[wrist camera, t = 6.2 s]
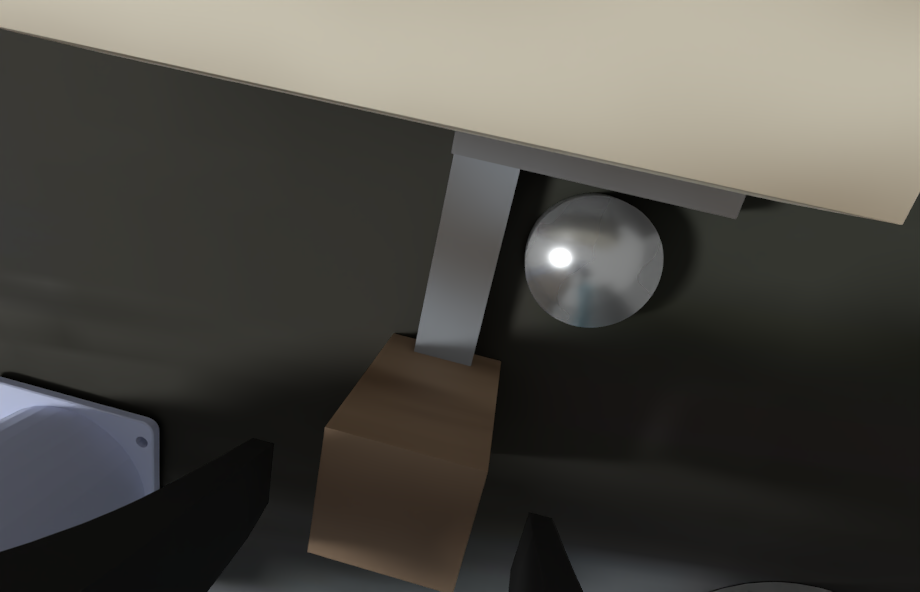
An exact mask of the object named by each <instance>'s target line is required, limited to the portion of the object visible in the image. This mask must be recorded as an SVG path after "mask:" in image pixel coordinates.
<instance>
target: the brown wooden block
mask: <svg viewBox="0 0 920 592" xmlns="http://www.w3.org/2000/svg"><path fill="white" fill-rule="evenodd" d="M451 153H452V154H454V156H453V161H452V166H451V171H450V176H449V181H448V186H447V191H446V196H445V201H444V206H443V211H442V215H441V220H440V225H439V230H438V235H437V240H436V245H435V250H434V255H433V260H432V265H431V270H430V275H429V280H428V284H427V289H426V294H425V299H424V304H423V309H422V314H421V319H420V324H419V329H418V334H417V339H414V338H410V337H406V336H402V335H398V334H393V335H392V336H391V338H390V339H389V341H388V342H387V343H386V345H385V346H384V347H383V349H382V350H381V351H380V353H379V354H378V355H377V357H376V358H375V360H374V361H373V362H372V364H371V365H370V366H369V368H368V369H367V370H366V372H365V373H364V375H363V376H362V377H361V379H360V380H359V381H358V383H357V384H356V385H355V387H354V388H353V389H352V391H351V392H350V394H349V395H348V396H347V398H346V399H345V400H344V402H343V403H342V404H341V406H340V407H339V409H338V410H337V411H336V413H335V414H334V415H333V417H332V418H331V419H330V421H329V422H328V424H327V425H326V426H325V430H324V438H323V445H322V452H321V459H320V466H319V473H318V480H317V487H316V494H315V501H314V508H313V515H312V522H311V530H310V537H309V544H308V551H307V552H309V553H312V554H316V555H319V556H323V557H326V558H329V559H333V560H336V561H340V562H343V563H346V564H350V565H353V566H357V567H360V568H363V569H367V570H370V571H373V572H377V573H380V574H384V575H387V576H390V577H394V578H397V579H401V580H404V581H407V582H411V583H414V584H418V585H421V586H424V587H428V588H431V589H435V590H438V591H441V592H453V591H454V588H455V584H456V581H457V577H458V574H459V571H460V567H461V564H462V560H463V557H464V553H465V550H466V546H467V543H468V539H469V536H470V532H471V529H472V525H473V522H474V519H475V515H476V512H477V508H478V505H479V501H480V498H481V494H482V491H483V487H484V484H485V480H486V477H487V473H488V467H489V459H490V451H491V442H492V434H493V425H494V417H495V409H496V400H497V392H498V383H499V375H500V367H501V361H498V360H495V359H491V358H487V357H483V356H479V355H475V354H474V352H475V348H476V344H477V340H478V336H479V332H480V328H481V324H482V320H483V316H484V312H485V308H486V304H487V300H488V296H489V292H490V288H491V284H492V280H493V276H494V272H495V268H496V264H497V260H498V256H499V252H500V248H501V244H502V240H503V236H504V232H505V228H506V224H507V220H508V216H509V213H510V209H511V205H512V201H513V197H514V193H515V189H516V185H517V181H518V177H519V173H520V169H521V170H526V171H530V172H534V173H539V174H543V175H547V176H552V177H556V178H560V179H564V180H569V181H573V182H577V183H582V184H586V185H590V186H595V187H599V188H603V189H608V190H612V191H616V192H621V193H625V194H629V195H634V196H638V197H642V198H647V199H651V200H655V201H659V202H664V203H668V204H672V205H677V206H681V207H685V208H690V209H694V210H698V211H703V212H707V213H711V214H716V215H720V216H724V217H729V218H733V219H737V216H738V214H739V211H740V209H741V207H742V204H743V202H744V199H745V197H746V195H745V194H741V193H736V192H732V191H727V190H723V189H718V188H714V187H709V186H705V185H700V184H695V183H691V182H686V181H682V180H677V179H673V178H668V177H664V176H659V175H655V174H650V173H645V172H641V171H636V170H632V169H627V168H623V167H618V166H614V165H609V164H605V163H600V162H596V161H591V160H586V159H582V158H577V157H573V156H568V155H564V154H559V153H555V152H550V151H546V150H541V149H537V148H532V147H527V146H523V145H518V144H514V143H509V142H505V141H500V140H496V139H491V138H487V137H482V136H477V135H473V134H468V133H464V132H459V131H455V136H454V141H453V146H452V151H451Z"/></svg>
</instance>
